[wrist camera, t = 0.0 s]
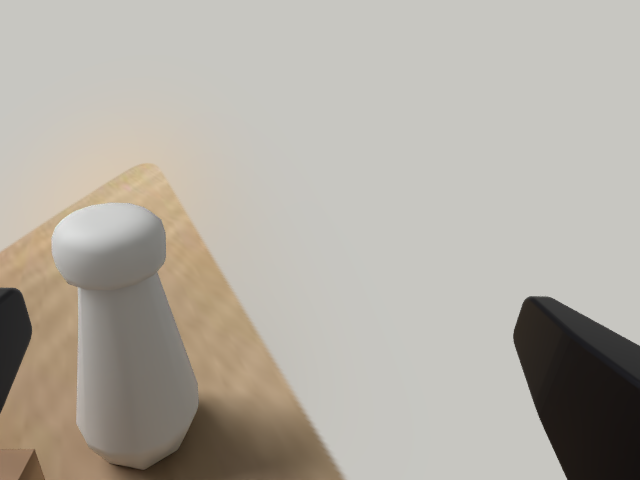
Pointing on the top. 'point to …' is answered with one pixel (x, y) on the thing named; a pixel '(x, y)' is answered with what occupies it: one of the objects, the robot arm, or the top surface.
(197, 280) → the top surface
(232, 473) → the top surface
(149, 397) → the salt shaker
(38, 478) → the toolbox
